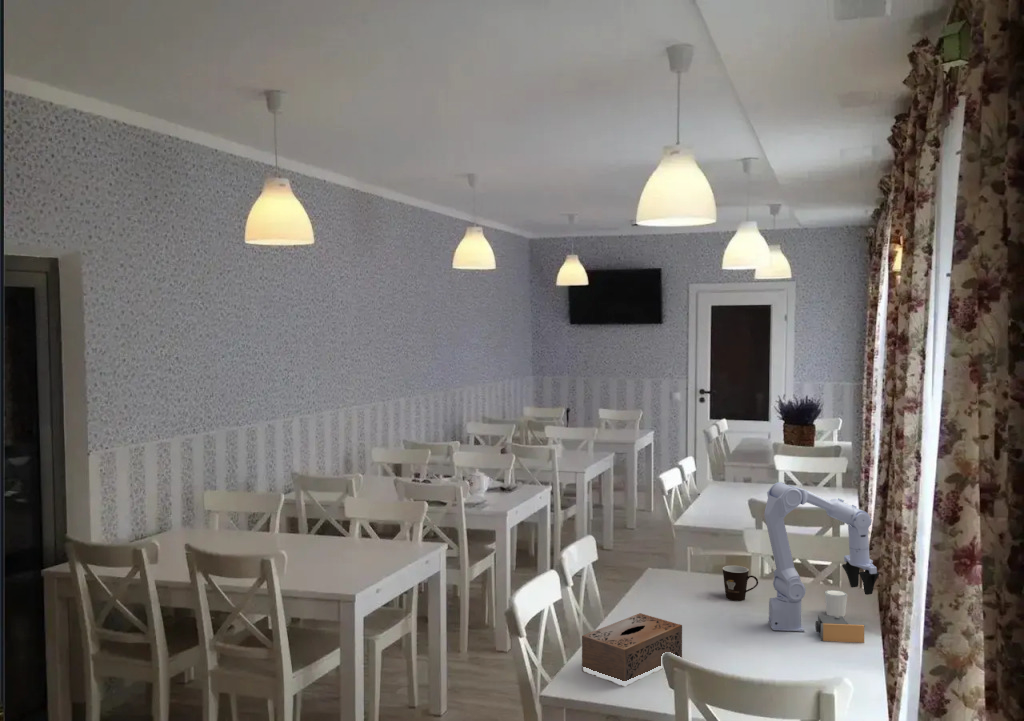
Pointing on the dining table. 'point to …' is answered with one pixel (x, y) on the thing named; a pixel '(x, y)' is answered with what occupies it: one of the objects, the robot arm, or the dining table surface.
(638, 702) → the dining table surface
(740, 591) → the coffee mug
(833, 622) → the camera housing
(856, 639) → the side door
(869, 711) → the dining table surface
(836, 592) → the white cup
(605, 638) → the tissue box cover
